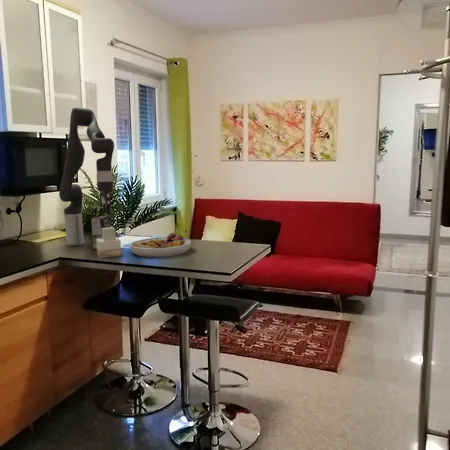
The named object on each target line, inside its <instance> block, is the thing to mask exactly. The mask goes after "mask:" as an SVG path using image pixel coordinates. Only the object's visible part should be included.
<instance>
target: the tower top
mask: <svg viewBox="0 0 450 450" xmlns="http://www.w3.org/2000/svg"><path fill="white" fill-rule="evenodd" d="M96 243H97V248H98V249H99V250H110V249H119V248H121V249H122V246H121V244H122V243H121V239H120V238H119V237H117V236H116V240H108V241H104V240H103V239H96Z"/></svg>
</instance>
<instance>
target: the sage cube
mask: <svg viewBox="0 0 450 450" xmlns="http://www.w3.org/2000/svg"><path fill="white" fill-rule="evenodd" d="M116 237H117V236H116V228H115V227H113V226H110V227H109V228H102V239H103V240H104V241H108V240H116Z"/></svg>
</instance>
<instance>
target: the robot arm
mask: <svg viewBox="0 0 450 450" xmlns="http://www.w3.org/2000/svg"><path fill="white" fill-rule="evenodd" d="M71 109H72V110H71V111H70V118H69V119H70V121H69V131H68V133H69V134H68V141H67V148H66V151H65V152H66V153H65V160H64V168H63V174H62V177H61V182H60V186H59V189H58V190H59V191H58V194H59V195H58V196H59V199H60V201H62V202H64V203H68V202H70V203H69V205H68V206H67V207H66V208H64V209H63V214H64V215H63V216H64V227H65V240H66V245H67V246H81V245H84V244H85V240H84V235H85V234H84V226H83V223H84V222H83V214H82V213H83V212H82V211H83V191H82V188H81V186H80V184H77V183H74V182H73V181H74V179H75V177H76V175H77V173H79V171H80V169H81V168H82V166H83V164H84V160H85V156H86V154H85V153H86V151H85V150H86V149H85V148H84V145H83V143H82V141H81V139H80V136H79V133H78V132H79V129H78V128H79V127H86V135H87V138H88V139H89V141H90V145H91V146H90V147H91V150H92V152H93V153H94V154H105V155H104V156H103V157H100V158H98V159H97V158H96V161H95V162H96V163H95V164H96V188H97V191H98V192H100V200H101V201H100V203H101V206H102V213H103V214H105V215H106V216H111V215H112V209H111V207H112V205H113V204H112V194H111V193H110V191H113V190H114V178H113V177H114V176H113V170H112V168H113V167H112V162H113V161H112V160H113V155H114V149H115V143H114V140H113V139H112V138H109V137H105V135H104V133H103V131H102V129H100V127H99V124H98V121H97V119H96V115H95V113H94V111H93V110H92V109H90V108H87V107H86V108H85V107H84V108H83V107H78V106H74V107H72V108H71Z"/></svg>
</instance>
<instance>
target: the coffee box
mask: <svg viewBox="0 0 450 450" xmlns="http://www.w3.org/2000/svg"><path fill="white" fill-rule="evenodd" d="M110 220H111V219H110V215H106V216H105V215H103V216H97V217H92V218H91V219H90V221H91V236H92V248H93V249H96V250H97V243H96V239H102V228H109V227H111V225H110V224H111V223H110Z"/></svg>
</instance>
